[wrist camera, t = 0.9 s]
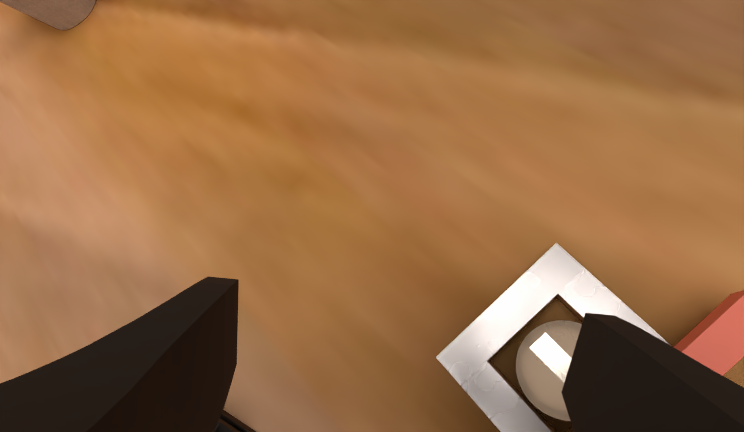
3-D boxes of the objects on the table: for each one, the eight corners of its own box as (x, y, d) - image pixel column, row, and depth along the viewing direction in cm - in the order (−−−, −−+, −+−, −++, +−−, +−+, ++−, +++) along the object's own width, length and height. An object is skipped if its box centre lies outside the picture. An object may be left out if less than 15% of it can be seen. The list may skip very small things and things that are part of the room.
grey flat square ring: (692, 374, 22) (705, 376, 21) (562, 493, 23) (564, 505, 21) (554, 249, 25) (556, 242, 24) (442, 356, 26) (435, 357, 24)
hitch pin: (616, 368, 23) (648, 376, 17) (560, 420, 23) (570, 447, 17) (556, 311, 25) (565, 297, 18) (504, 360, 25) (493, 365, 18)
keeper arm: (546, 550, 20) (548, 570, 18) (492, 484, 21) (488, 497, 19) (782, 335, 19) (808, 333, 17) (713, 279, 20) (731, 273, 19)
